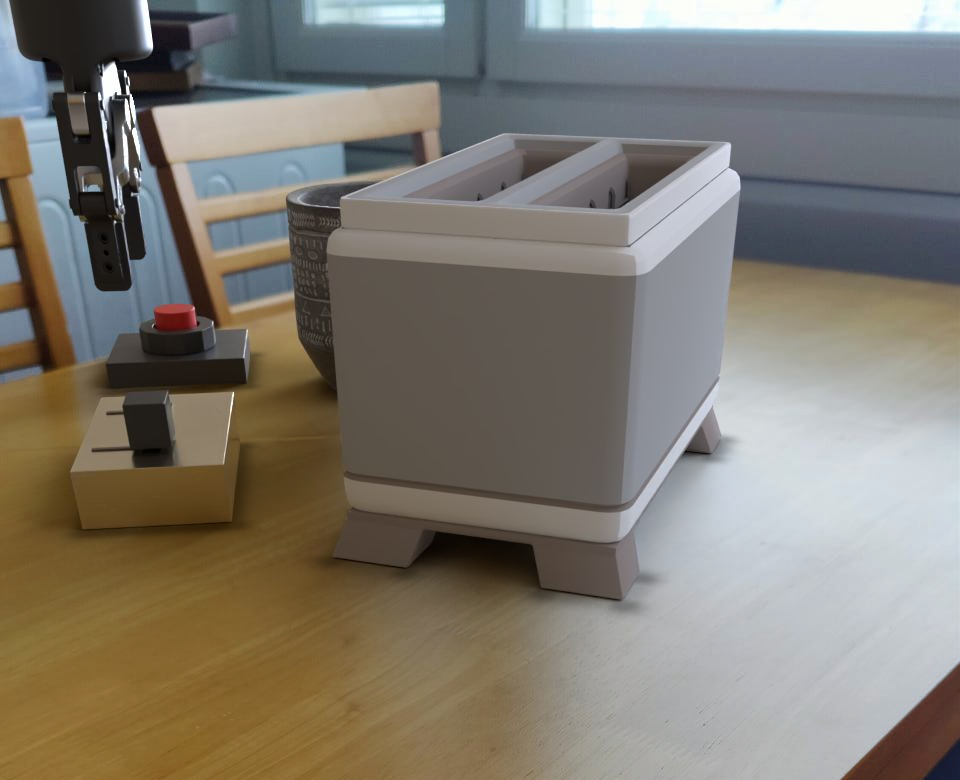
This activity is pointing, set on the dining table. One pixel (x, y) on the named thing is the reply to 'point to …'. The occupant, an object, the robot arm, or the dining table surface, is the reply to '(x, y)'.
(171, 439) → the slider
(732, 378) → the dining table surface
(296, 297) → the planter
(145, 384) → the button housing
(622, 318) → the toaster
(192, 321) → the button
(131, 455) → the panel
